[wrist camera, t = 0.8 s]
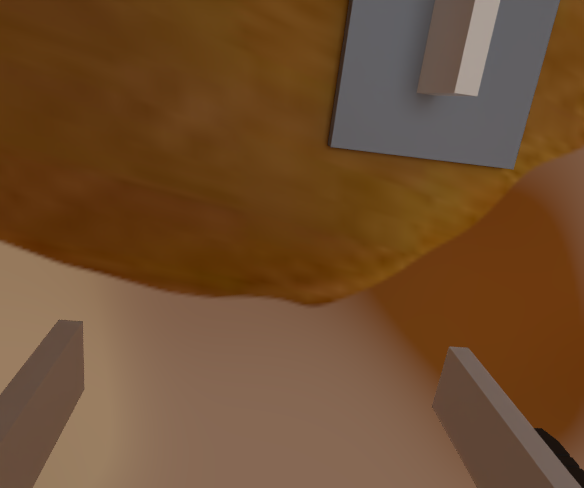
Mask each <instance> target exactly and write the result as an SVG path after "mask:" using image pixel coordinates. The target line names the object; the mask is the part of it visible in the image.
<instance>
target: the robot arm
mask: <svg viewBox="0 0 584 488" xmlns="http://www.w3.org/2000/svg"><path fill="white" fill-rule="evenodd" d="M83 390H84V358H83V322H82V321H68V320H58V322H57V323H56V324H55V325H54V327H53V328H52V329H51V331H50V332H49V333H48V335H47V336H46V337H45V338H44V339H43V341H42V342H41V343H40V345H39V346H38V347H37V348H36V350H35V351H34V353H33V354H32V355H31V356H30V358H29V359H28V360H27V361H26V363H25V364H24V365H23V366H22V368H21V369H20V370H19V372H18V373H17V374H16V375H15V377H14V378H13V379H12V381H11V382H10V383H9V384H8V386H7V387H6V388H5V390H4V391H3V392H2V393H1V395H0V488H33V486H34V484H35V482H36V480H37V478H38V476H39V474H40V472H41V470H42V469H43V467H44V465H45V463H46V461H47V459H48V457H49V455H50V453H51V452H52V450H53V448H54V446H55V444H56V442H57V440H58V438H59V436H60V434H61V432H62V430H63V429H64V426H65V425H66V423H67V421H68V419H69V417H70V415H71V413H72V412H73V410H74V407H75V406H76V404H77V402H78V400H79V398H80V396H81V394H82V392H83ZM432 408H433V409H434V411H435V413H436V415H437V416H438V418H439V420H440V422H441V424H442V426H443V427H444V429H445V431H446V433H447V434H448V436H449V438H450V440H451V442H452V443H453V445H454V447H455V449H456V451H457V452H458V454H459V456H460V458H461V460H462V461H463V463H464V465H465V467H466V468H467V470H468V472H469V474H470V476H471V478H472V479H473V481H474V483H475V485H476V487H477V488H584V471H583V470H582V469H580V468H579V465H578V464H577V463H576V462H575V460H574V459H573V458H571V457H570V455H569V453H568V452H567V451H566V450H565V449H564V447H563V446H562V445H561V444H560V443H559V442H558V441H557V440H556V439H555V438H553V437H552V436H551V435H550V434H548V433H547V432H546V431H544V430H543V429H542V428H533V427H532V426H531V425H530V423H529V422H528V421H527V420H526V418H525V417H524V416H523V415H522V413H521V412H520V411H519V410H518V409H517V407H516V406H515V405H514V404H513V402H512V401H511V400H510V399H509V397H508V396H507V395H506V394H505V393H504V391H503V390H502V389H501V388H500V386H499V385H498V384H497V383H496V382H495V380H494V379H493V378H492V377H491V375H490V374H489V373H488V372H487V370H486V369H485V368H484V367H483V366H482V364H481V363H480V362H479V361H478V359H477V358H476V357H475V356H474V354H473V353H472V352H471V351H470V350H469V348H462V347H449V349H448V352H447V356H446V359H445V363H444V367H443V370H442V373H441V377H440V380H439V384H438V387H437V391H436V395H435V398H434V402H433V405H432Z"/></svg>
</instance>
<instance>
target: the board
mask: <svg viewBox="0 0 584 488" xmlns="http://www.w3.org/2000/svg"><path fill="white" fill-rule="evenodd" d="M559 2H560V0H500V4H499V8H498V12H497V16H496V21H495V25H494V29H493V33H492V37H491V41H490V46H489V50H488V54H487V58H486V62H485V66H484V71H483V75H482V79H481V83H480V87H479V91H478V96H435V95H428V94H421V93H417V88H418V83H419V78H420V73H421V68H422V63H423V58H424V53H425V48H426V43H427V38H428V33H429V28H430V23H431V18H432V13H433V8H434V3H435V0H349V6H348V13H347V19H346V26H345V33H344V39H343V46H342V53H341V59H340V66H339V73H338V79H337V86H336V93H335V100H334V106H333V113H332V120H331V126H330V133H329V140H328V145H329V146H330V147H335V148H343V149H351V150H360V151H368V152H376V153H384V154H392V155H401V156H409V157H417V158H425V159H433V160H441V161H450V162H458V163H466V164H474V165H482V166H491V167H499V168H507V169H514V165H515V161H516V158H517V154H518V150H519V147H520V143H521V140H522V136H523V132H524V129H525V125H526V121H527V118H528V114H529V111H530V107H531V103H532V100H533V96H534V92H535V89H536V85H537V82H538V78H539V74H540V71H541V67H542V63H543V60H544V56H545V52H546V49H547V45H548V42H549V38H550V34H551V31H552V27H553V23H554V20H555V16H556V13H557V9H558V5H559Z"/></svg>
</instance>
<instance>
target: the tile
mask: <svg viewBox="0 0 584 488" xmlns="http://www.w3.org/2000/svg"><path fill="white" fill-rule="evenodd" d="M499 4H500V0H435V3H434V8H433V13H432V18H431V23H430V28H429V33H428V38H427V43H426V48H425V53H424V58H423V63H422V68H421V73H420V78H419V83H418V88H417V93H421V94H428V95H435V96H478V91H479V87H480V83H481V79H482V75H483V71H484V66H485V62H486V58H487V54H488V50H489V46H490V41H491V37H492V33H493V29H494V25H495V21H496V16H497V12H498V8H499Z"/></svg>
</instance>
